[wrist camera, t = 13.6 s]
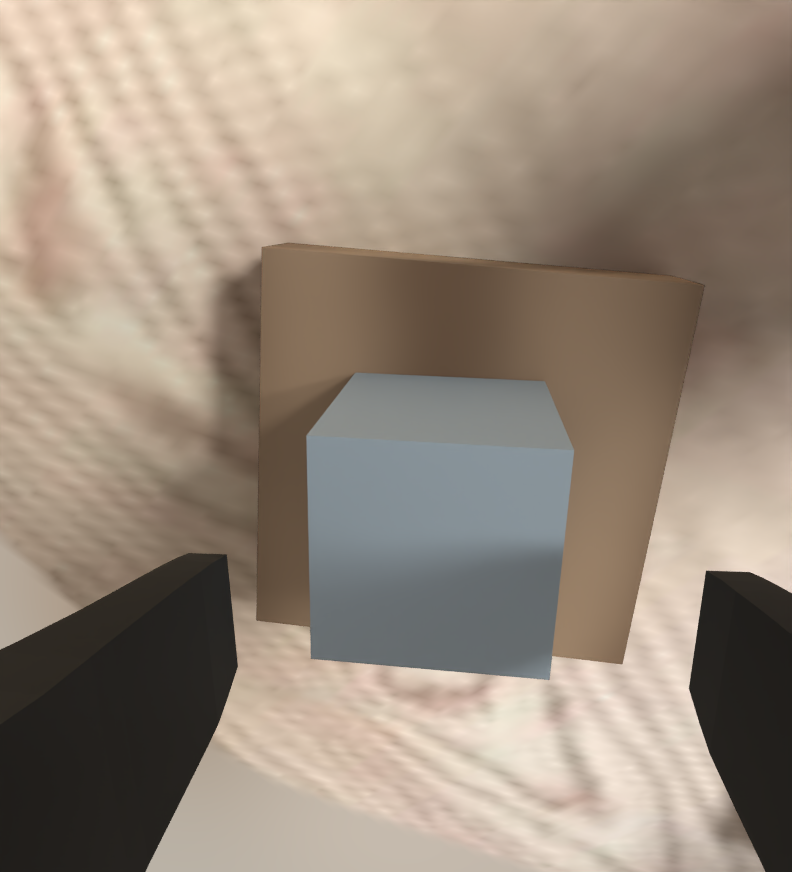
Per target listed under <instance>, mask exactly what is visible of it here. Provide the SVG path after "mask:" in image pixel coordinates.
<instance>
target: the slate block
mask: <svg viewBox="0 0 792 872" xmlns="http://www.w3.org/2000/svg"><path fill="white" fill-rule="evenodd" d="M306 437H307V486H308V535H309V584H310V633H311V659H319V660H331V661H342V662H353V663H365V664H376V665H387V666H399V667H410V668H421V669H432V670H444V671H455V672H466V673H478V674H489V675H500V676H512V677H523V678H534V679H545V680H549V679H550V670H551V660H552V651H553V642H554V633H555V623H556V614H557V605H558V596H559V586H560V577H561V568H562V559H563V549H564V540H565V531H566V522H567V512H568V503H569V494H570V485H571V475H572V466H573V457H574V449H573V446H572V444H571V442H570V439H569V437H568V435H567V432H566V430H565V427H564V425H563V423H562V420H561V418H560V416H559V413H558V411H557V409H556V406H555V404H554V401H553V399H552V397H551V394H550V392H549V390H548V387H547V385H546V383H545V381H528V380H506V379H484V378H462V377H440V376H418V375H396V374H374V373H355V374H354V375H353V376H352V378H351V379H350V380H349V381H348V383H347V384H346V385H345V387H344V388H343V389H342V390H341V392H340V393H339V394H338V396H337V397H336V398H335V399H334V401H333V402H332V403H331V405H330V406H329V407H328V408H327V410H326V411H325V412H324V414H323V415H322V416H321V417H320V419H319V420H318V421H317V423H316V424H315V425H314V426H313V428H312V429H311V430H310V432H309V433H308V434H307V435H306Z"/></svg>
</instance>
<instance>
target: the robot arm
mask: <svg viewBox="0 0 792 872" xmlns="http://www.w3.org/2000/svg"><path fill="white" fill-rule="evenodd" d="M237 667H238V664H237V654H236V644H235V634H234V624H233V614H232V604H231V594H230V584H229V574H228V564H227V555H225V554H195V553H188V554H186V555H183V556H181V557H178V558H176V559H174V560H172V561H170V562H168V563H166V564H164V565H162V566H160V567H158V568H156V569H154V570H153V571H151V572H149V573H147V574H145V575H143V576H142V577H140V578H138V579H136V580H134V581H132V582H131V583H129V584H127V585H125V586H123V587H121V588H120V589H118V590H116V591H114V592H112V593H111V594H109V595H107V596H105V597H103V598H101V599H100V600H98V601H96V602H94V603H92V604H90V605H89V606H87V607H85V608H83V609H81V610H79V611H77V612H75V613H73V614H71V615H69V616H68V617H66V618H63V619H62V620H59V621H58V622H55V623H53V624H52V625H50V626H48V627H46V628H44V629H42V630H40V631H38V632H36V633H34V634H32V635H30V636H28V637H26V638H24V639H22V640H20V641H18V642H16V643H14V644H12V645H10V646H7V647H5V648H3V649H1V650H0V872H145V871H146V869H147V867H148V865H149V863H150V861H151V859H152V857H153V855H154V853H155V851H156V849H157V847H158V845H159V843H160V841H161V839H162V837H163V835H164V833H165V831H166V829H167V827H168V825H169V823H170V821H171V819H172V817H173V815H174V813H175V811H176V809H177V807H178V805H179V803H180V801H181V799H182V797H183V795H184V793H185V791H186V789H187V787H188V785H189V783H190V781H191V779H192V777H193V775H194V773H195V771H196V769H197V767H198V765H199V763H200V761H201V758H202V757H203V755H204V753H205V751H206V749H207V747H208V745H209V742H210V740H211V738H212V736H213V734H214V732H215V730H216V728H217V726H218V723H219V721H220V718H221V715H222V712H223V709H224V706H225V704H226V701H227V698H228V695H229V692H230V689H231V686H232V683H233V679H234V676H235V673H236V670H237ZM689 690H690V693H691V697H692V700H693V703H694V706H695V710H696V713H697V716H698V720H699V723H700V726H701V729H702V732H703V735H704V738H705V741H706V744H707V747H708V750H709V753H710V755H711V757H712V759H713V762H714V764H715V766H716V768H717V770H718V772H719V775H720V777H721V779H722V781H723V783H724V785H725V787H726V790H727V792H728V794H729V796H730V798H731V800H732V802H733V804H734V807H735V809H736V811H737V813H738V815H739V817H740V819H741V821H742V823H743V825H744V828H745V830H746V832H747V834H748V836H749V838H750V840H751V842H752V844H753V846H754V848H755V850H756V853H757V855H758V857H759V859H760V861H761V863H762V865H763V867H764V869H765V871H766V872H792V593H790V592H788V591H786V590H785V589H783V588H781V587H779V586H777V585H775V584H774V583H772V582H770V581H768V580H766V579H764V578H762V577H760V576H757V575H755V574H753V573H750V572H727V571H706V575H705V582H704V589H703V596H702V603H701V610H700V617H699V623H698V630H697V637H696V644H695V651H694V658H693V665H692V672H691V679H690V685H689Z"/></svg>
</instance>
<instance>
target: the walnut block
mask: <svg viewBox="0 0 792 872" xmlns="http://www.w3.org/2000/svg"><path fill="white" fill-rule="evenodd" d="M704 286H705V285H702V284H698V283H695V282H691V281H688V280H684V279H681V278H678V277H674V276H668V275H657V274H645V273H633V272H622V271H610V270H598V269H587V268H575V267H563V266H552V265H540V264H529V263H517V262H505V261H494V260H482V259H470V258H459V257H447V256H435V255H424V254H412V253H400V252H389V251H377V250H365V249H354V248H342V247H330V246H319V245H307V244H295V243H284V244H278V245H272V246H266V247H262V271H261V340H260V409H259V477H258V546H257V614H256V620H257V621H265V622H274V623H282V624H291V625H299V626H307V627H310V584H309V535H308V486H307V437H306V435H307V434H308V433H309V432H310V430H311V429H312V428H313V426H314V425H315V424H316V423H317V421H318V420H319V419H320V417H321V416H322V415H323V414H324V412H325V411H326V410H327V408H328V407H329V406H330V405H331V403H332V402H333V401H334V399H335V398H336V397H337V396H338V394H339V393H340V392H341V390H342V389H343V388H344V387H345V385H346V384H347V383H348V381H349V380H350V379H351V378H352V376H353V375H354V374H355V373H374V374H396V375H418V376H440V377H462V378H484V379H506V380H528V381H545V383H546V385H547V387H548V390H549V392H550V394H551V397H552V399H553V401H554V404H555V406H556V409H557V411H558V413H559V416H560V418H561V420H562V423H563V425H564V427H565V430H566V432H567V435H568V437H569V439H570V442H571V444H572V446H573V449H574V457H573V466H572V475H571V485H570V494H569V503H568V512H567V522H566V531H565V540H564V549H563V559H562V568H561V577H560V586H559V596H558V605H557V614H556V623H555V633H554V642H553V651H552V656H557V657H566V658H574V659H582V660H591V661H599V662H607V663H616V664H622V663H623V659H624V654H625V650H626V645H627V640H628V636H629V631H630V627H631V622H632V617H633V613H634V608H635V604H636V599H637V594H638V590H639V585H640V581H641V576H642V571H643V567H644V562H645V558H646V553H647V548H648V544H649V539H650V535H651V530H652V525H653V521H654V516H655V512H656V507H657V502H658V498H659V493H660V489H661V484H662V479H663V475H664V470H665V466H666V461H667V456H668V452H669V447H670V443H671V438H672V433H673V429H674V424H675V420H676V415H677V410H678V406H679V401H680V397H681V392H682V387H683V383H684V378H685V373H686V369H687V364H688V360H689V355H690V350H691V346H692V341H693V337H694V332H695V327H696V323H697V318H698V314H699V309H700V304H701V300H702V295H703V291H704Z"/></svg>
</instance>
